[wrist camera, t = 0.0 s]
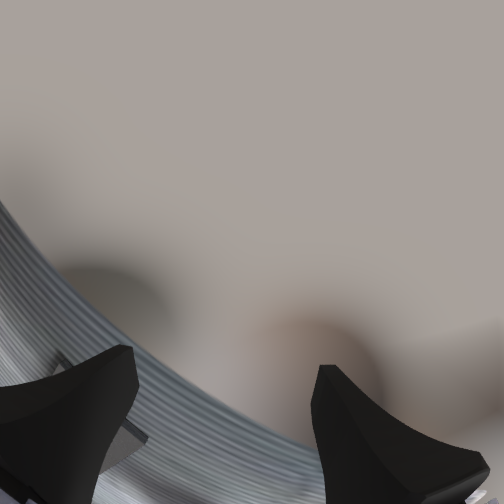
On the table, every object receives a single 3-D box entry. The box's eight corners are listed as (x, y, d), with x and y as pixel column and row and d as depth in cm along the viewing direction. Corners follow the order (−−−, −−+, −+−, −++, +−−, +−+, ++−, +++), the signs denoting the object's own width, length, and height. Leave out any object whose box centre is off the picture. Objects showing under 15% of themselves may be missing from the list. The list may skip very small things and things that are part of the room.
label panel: (77, 485, 22) (71, 493, 20) (22, 432, 22) (14, 439, 20) (148, 437, 21) (140, 451, 19) (66, 358, 21) (52, 367, 19)
